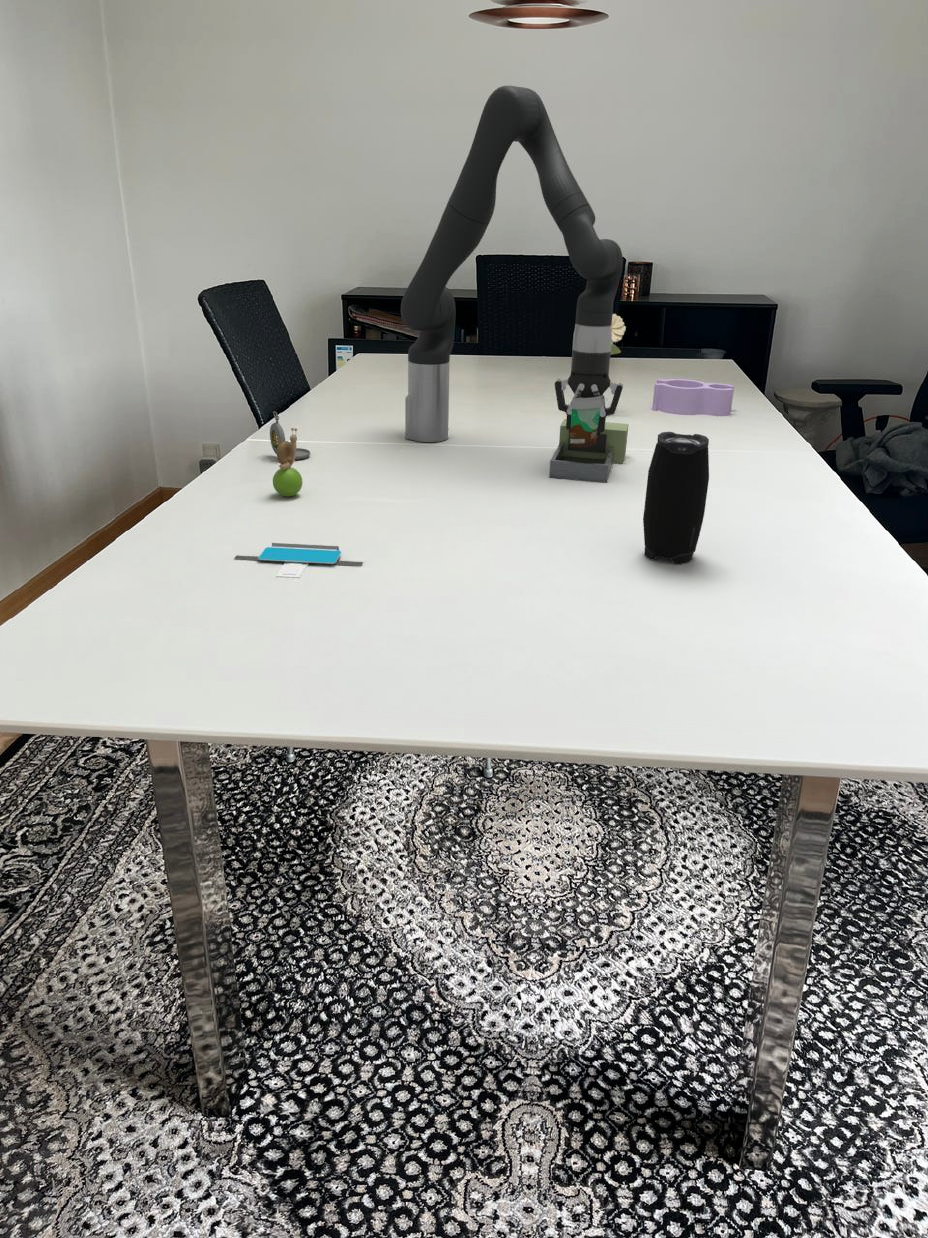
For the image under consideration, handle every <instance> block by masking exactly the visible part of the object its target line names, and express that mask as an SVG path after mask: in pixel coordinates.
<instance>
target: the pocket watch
mask: <svg viewBox="0 0 928 1238" xmlns="http://www.w3.org/2000/svg"><path fill="white" fill-rule="evenodd" d="M272 414H273V417H274V420H275V422H274V423H271V425H270V428H269V439H270V440H269V441H270V444H271V445H270V446H271V448H272V450H273V452H274V454H276V455H277V450H278V447H279V445H280V443H281V442H283V441H286V436H285V432H284V429H283V426H282V425H281V424H280V423H279V420H280V416H279V415H278V413H277V412H276V411H273V412H272ZM309 456H311V451H310V450H309V449H307V448H301V447H299V448H297V447H296V456H295V460H302V459H306V458H308V457H309Z"/></svg>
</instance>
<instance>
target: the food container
mask: <svg viewBox="0 0 928 1238" xmlns="http://www.w3.org/2000/svg"><path fill="white" fill-rule="evenodd" d="M603 395H604V394H603ZM603 395H601V396H598V397H592V398H583V397H580V398H577V397H575V398H573V397H572V398H571V400H572V414H571V432H570V447H587V446H592V445H594V444H596V441H597V429H598V423H599V417H600V408H601V407H602V406H604V405H605V399H604V396H605V395H604V396H603Z"/></svg>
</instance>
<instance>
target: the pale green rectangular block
mask: <svg viewBox="0 0 928 1238" xmlns="http://www.w3.org/2000/svg"><path fill="white" fill-rule="evenodd" d="M566 419H567V418H563V420H562V422H561V424H560V425H559V438H558V440H559V441H558V444H559V443H560V442H564V447H563V456H568V457H580V458H592V459H604V460H606V459H607V456H608V453H609V450H610V447H611V446H615V447H614V457H613V464H615V463H616V464H624V462H625V459H626V453H627V445H628V432H629V423H621V422H620V423H619V422H606V421H605V429H604V432H601V435H597V441H596V444H594V445H592V446H587V447H570V433H569V430H567V429H566Z"/></svg>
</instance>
